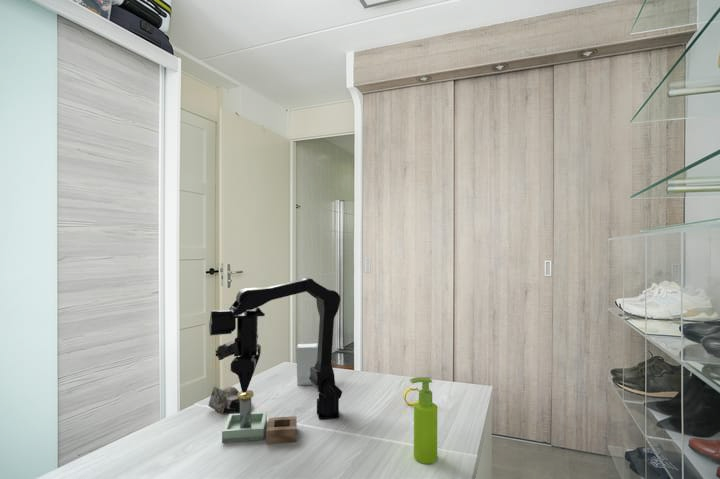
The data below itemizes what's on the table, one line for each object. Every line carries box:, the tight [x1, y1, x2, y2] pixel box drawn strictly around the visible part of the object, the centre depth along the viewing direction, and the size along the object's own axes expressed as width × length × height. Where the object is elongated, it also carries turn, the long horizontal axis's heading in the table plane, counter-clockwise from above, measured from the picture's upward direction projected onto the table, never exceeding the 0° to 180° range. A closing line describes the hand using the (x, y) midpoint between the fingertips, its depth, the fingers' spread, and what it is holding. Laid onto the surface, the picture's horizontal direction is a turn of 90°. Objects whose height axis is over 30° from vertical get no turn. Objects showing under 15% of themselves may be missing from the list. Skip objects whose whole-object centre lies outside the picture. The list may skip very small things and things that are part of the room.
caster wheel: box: [208, 385, 240, 414], centre depth 128 cm, size 7×11×10 cm
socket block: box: [265, 415, 298, 445], centre depth 109 cm, size 8×8×4 cm
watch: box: [403, 385, 420, 406], centre depth 132 cm, size 6×3×6 cm, turn 98°
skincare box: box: [295, 342, 318, 386], centre depth 152 cm, size 8×6×15 cm
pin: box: [238, 389, 254, 428], centre depth 111 cm, size 4×4×10 cm
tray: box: [221, 411, 268, 443], centre depth 111 cm, size 11×11×3 cm
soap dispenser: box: [409, 376, 438, 465], centre depth 98 cm, size 6×7×20 cm
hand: (246, 386), depth 112 cm, fingers open, 9 cm apart
